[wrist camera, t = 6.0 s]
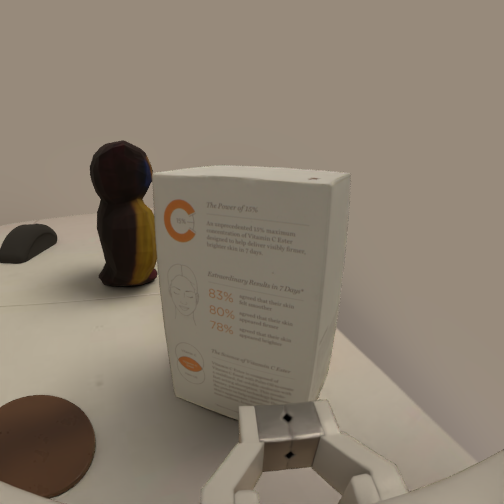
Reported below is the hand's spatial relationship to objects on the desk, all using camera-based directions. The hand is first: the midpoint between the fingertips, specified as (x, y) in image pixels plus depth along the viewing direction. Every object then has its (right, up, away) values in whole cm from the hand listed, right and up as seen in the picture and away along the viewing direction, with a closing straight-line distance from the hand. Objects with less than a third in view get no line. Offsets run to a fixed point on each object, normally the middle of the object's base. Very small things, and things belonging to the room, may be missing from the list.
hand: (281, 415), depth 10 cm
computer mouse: (-36, +6, +32) cm, 49 cm away
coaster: (-13, -5, +2) cm, 14 cm away
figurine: (-14, +2, +24) cm, 28 cm away
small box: (-1, -3, +9) cm, 10 cm away
